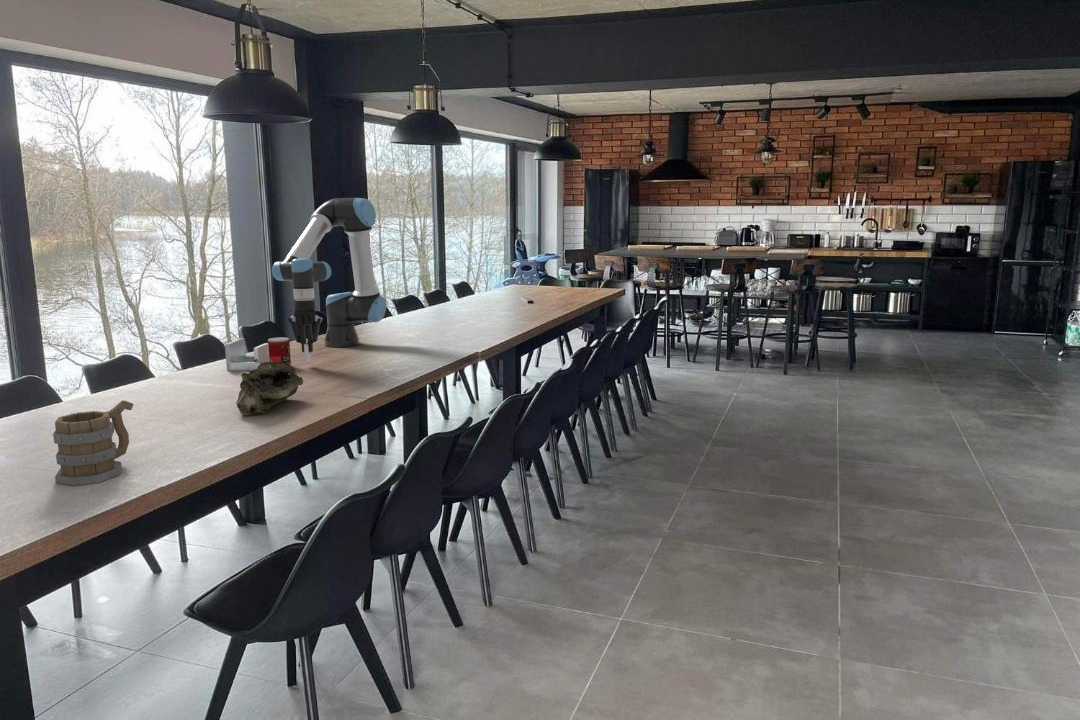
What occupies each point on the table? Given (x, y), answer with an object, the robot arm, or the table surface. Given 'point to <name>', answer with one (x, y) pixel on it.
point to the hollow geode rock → (266, 387)
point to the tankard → (90, 445)
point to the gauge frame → (239, 356)
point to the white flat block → (261, 353)
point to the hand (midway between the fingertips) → (308, 360)
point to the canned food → (279, 350)
